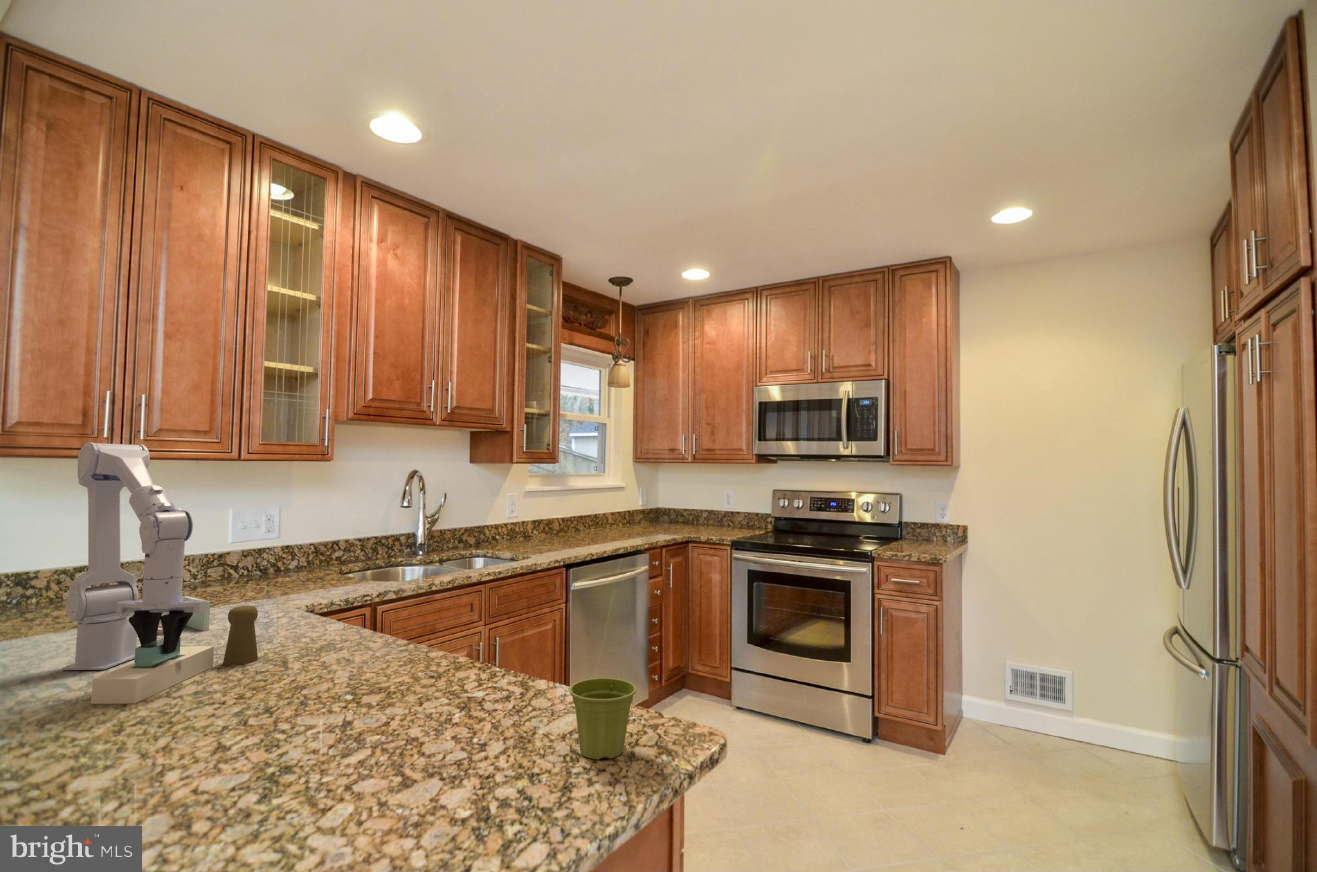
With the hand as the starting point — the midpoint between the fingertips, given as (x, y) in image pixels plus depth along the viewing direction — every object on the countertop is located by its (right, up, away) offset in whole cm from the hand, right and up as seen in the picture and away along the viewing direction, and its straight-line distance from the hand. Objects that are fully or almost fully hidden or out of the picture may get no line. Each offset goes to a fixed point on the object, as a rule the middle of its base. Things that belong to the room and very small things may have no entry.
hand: (159, 652), depth 115 cm
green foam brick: (0, -4, 0) cm, 4 cm away
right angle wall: (-27, -8, +37) cm, 46 cm away
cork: (+6, -7, +14) cm, 16 cm away
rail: (0, -6, 0) cm, 6 cm away
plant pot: (+83, -5, -26) cm, 87 cm away
